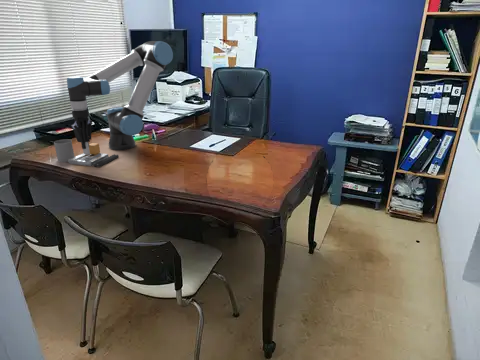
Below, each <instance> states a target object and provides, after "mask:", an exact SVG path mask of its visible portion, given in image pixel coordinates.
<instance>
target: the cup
mask: <svg viewBox="0 0 480 360" xmlns="http://www.w3.org/2000/svg"><path fill="white" fill-rule="evenodd" d="M53 144H54V149H55V154H56V158H57V162H59V163H69V162H68V160H69V159H71V158H73V157H76V156H75V153H74V146H73V142H72V139H68V138H67V139H64V138H63V139H59V140H55V141H54V142H53Z"/></svg>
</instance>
